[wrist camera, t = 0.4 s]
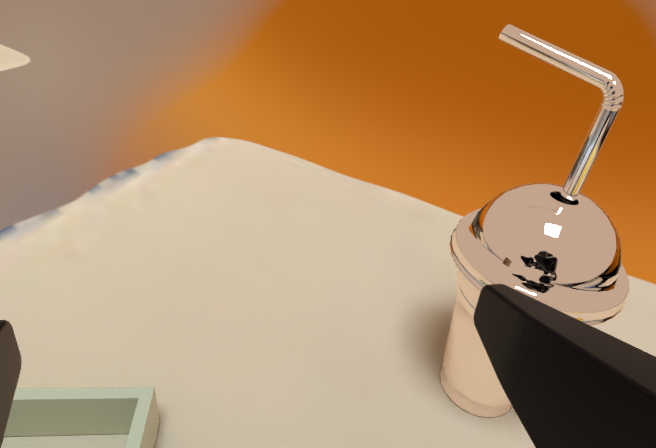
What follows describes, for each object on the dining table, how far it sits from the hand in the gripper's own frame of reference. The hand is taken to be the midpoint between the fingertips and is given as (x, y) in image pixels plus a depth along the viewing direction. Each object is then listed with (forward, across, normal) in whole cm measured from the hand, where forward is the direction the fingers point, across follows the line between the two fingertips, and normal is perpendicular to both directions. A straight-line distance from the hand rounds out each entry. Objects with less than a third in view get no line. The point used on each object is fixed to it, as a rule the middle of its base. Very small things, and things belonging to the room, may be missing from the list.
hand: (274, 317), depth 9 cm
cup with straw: (+11, -14, +16) cm, 24 cm away
